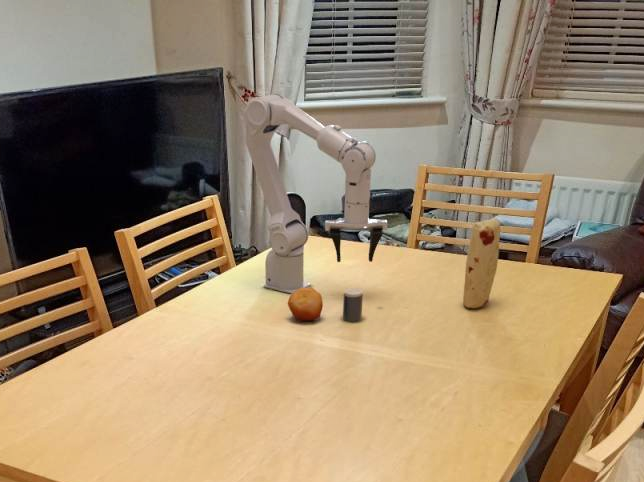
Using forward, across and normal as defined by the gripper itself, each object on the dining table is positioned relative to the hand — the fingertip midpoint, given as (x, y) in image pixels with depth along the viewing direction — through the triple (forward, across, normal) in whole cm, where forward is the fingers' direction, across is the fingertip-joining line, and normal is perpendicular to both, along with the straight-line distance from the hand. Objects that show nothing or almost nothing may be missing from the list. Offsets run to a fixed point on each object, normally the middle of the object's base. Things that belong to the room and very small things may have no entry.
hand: (354, 260), depth 183 cm
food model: (+10, -30, +6) cm, 32 cm away
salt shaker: (+9, +1, +14) cm, 17 cm away
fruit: (+10, +12, +13) cm, 21 cm away
